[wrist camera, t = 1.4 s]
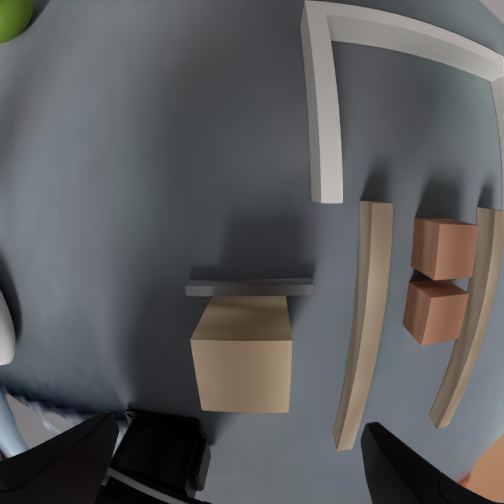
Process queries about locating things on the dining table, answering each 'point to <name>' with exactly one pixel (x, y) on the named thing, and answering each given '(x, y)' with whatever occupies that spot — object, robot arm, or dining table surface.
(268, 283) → the scraper
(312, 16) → the tray
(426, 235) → the chip
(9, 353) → the flower in vase
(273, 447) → the dining table surface
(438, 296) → the brown cube
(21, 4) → the snail figurine
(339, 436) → the channel
